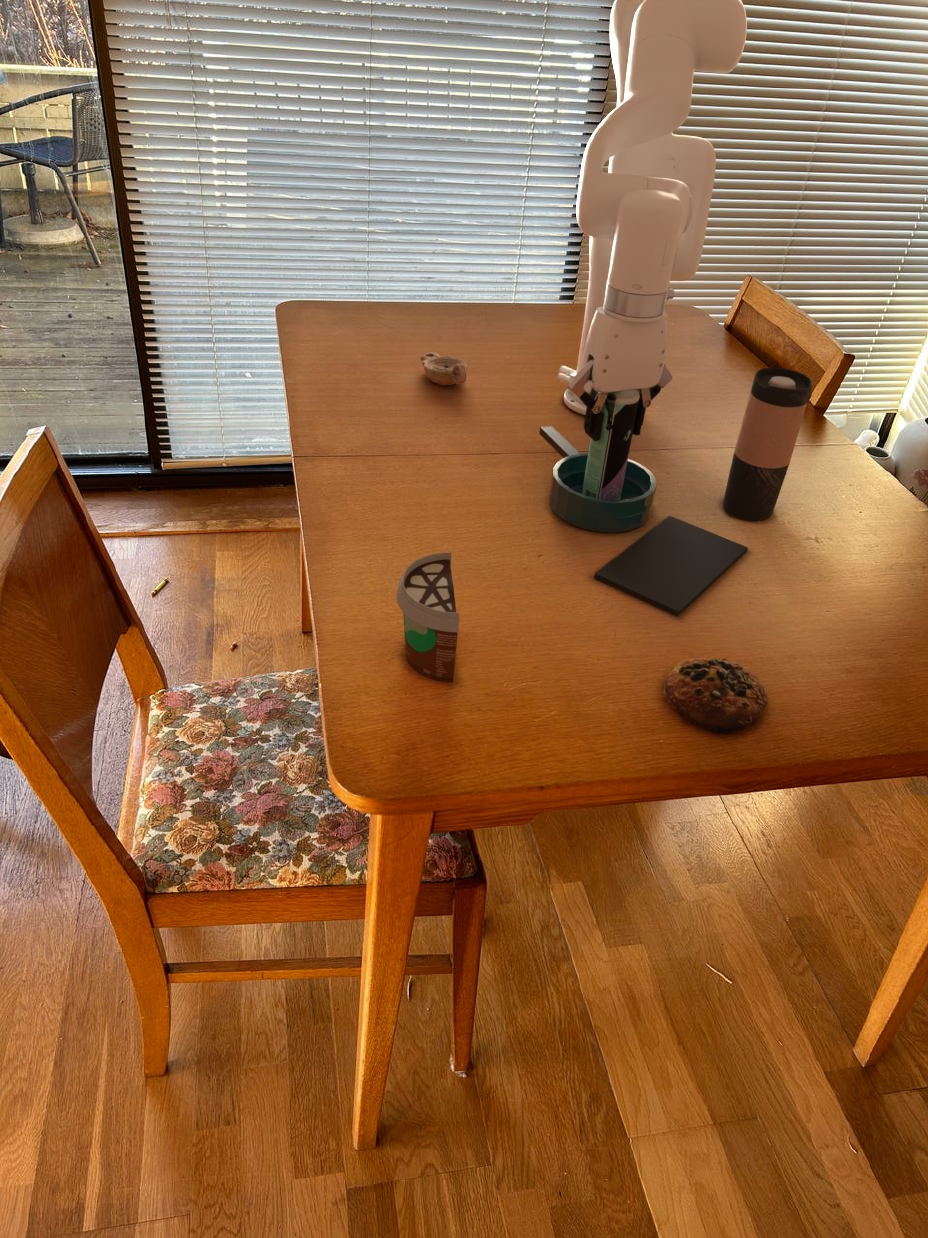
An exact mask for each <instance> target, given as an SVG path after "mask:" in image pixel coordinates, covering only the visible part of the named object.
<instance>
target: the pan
mask: <svg viewBox="0 0 928 1238" xmlns="http://www.w3.org/2000/svg"><path fill="white" fill-rule="evenodd" d="M587 458H588V452H583V453H580V454H575V455H572V456H568V457H565V458H561V459H560V460H559V461H557V462H556V464H555V465H554V467H553V468H552V474H551V481H550V489H549V497H548V499H549V500H548V501H549V507H550V508H551V509H552V511H553V512H554V513H555V515H557V516H558V517H559V518H561V519H562V520H563V521H565V522H566V523H569V524H571V525H573V526H575V527H578V528H581V529H584V530H588V531H593V532H600V533H619V532H626V531H631V530H633V529H636V528H639V527H641V526H643V524H645V523H647V522H648V521H649V519H650V516H651V515H652V510H653V505H654V501H655V496H656V491H657V487H658V483H657V480H656V479H657V478H656V476H655V475H654V474H653V472H652V471H651V470H650V469H649V468H647V467H646V466H644V465H642V464H640V463H639V462H637V461H635V460H633V459H630V458H628V461H627V467H626V472H625V477H624V483H623V488H622V493H621V498H620V500H605V499H598V498H594V497H589V496H586V495H583V494H582V490H583V484H584V477H585V471H586V465H587Z"/></svg>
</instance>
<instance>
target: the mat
mask: <svg viewBox="0 0 928 1238" xmlns="http://www.w3.org/2000/svg"><path fill="white" fill-rule="evenodd" d="M748 550H749V547H748V546H746V545H743V544H742V543H738V542H736V541H733V540H731V539H729V538H726V537H724V536H721V535H718V534H716V533H714V532H711V531H710V530H706V529H704V528H701V527H699V526H697V525H695V524H692V523H690V522H687V521H685V520H682V519H679V518H677V517H676V516H672V515H668V516H667V517H666V518H665V519H663V520H661V522H659V523H658V524H656V525H655V526H654V527H653V528H651V529H650V530H649V531H648V532H646V533H645V534H644V535H642V536H641V537H640V538H639V539H637V540H636V541H635V542H633V543H632V544H631V545H629V546H628V547H626V548H625V549H624V550H623V551H621V552H620V553H619V554H618V555H617V556H615V557H613V559H611V560H610V561H609V562H607V563H606V564H604V565H603V566H602V567H601V568H600V569H598V570H597V571H596V572H595V573H594V577H593V579H595V580H596V581H598V582H601V583H603V584H605V585H607V586H610V587H612V588H614V589H617V590H618V591H621V592H623V593H624V594H627V595H629V596H631V597H634V598H636V599H638V600H640V601H642V602H644V603H646V604H649V605H651V606H654V607H656V608H658V609H660V610H662V611H664V612H666V613H669V614H671V615H673V616H675V617H676V618H678V617H679V616H680V615H682V613H684V612H685V611H686V610H687V609H688V608H689V607H690V606H691V605H692V604H693V603H695V601H696V600H698V599H699V598H700V597H701V596H702V595H703V594H704V593H705V592H707V590H708V589H709V588H711V586H712V585H713V584H715V583H716V582H717V581H718V580H719V579H721V577H723V575H724V574H725V573H727V571H728V570H730V569H731V568H732V567H733V566H734V565H735V564H736V563H737V562H738V561H739V560H740V559H742V558H743V556H744V555H746V554H747V553H748Z"/></svg>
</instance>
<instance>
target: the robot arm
mask: <svg viewBox="0 0 928 1238" xmlns="http://www.w3.org/2000/svg"><path fill="white" fill-rule="evenodd" d="M747 19H748V18H747V12H746V7H745V6H744V2H743V1H742V0H614V2H613V4H612V8H611V11H610V19H609V45H610V52H611V60H612V61H611V62H612V66H613V71H614V75H615V81H616V93H617V96H616V97H617V99H616V107H615V108H614V109H613V110H611V111H610V112H609V113H608V114H607V115H606V117H604V118H603V120H602V121H601V122H600V123H599V124H598V126H597V127H596V129H595V130H594V131H593V133H592V134H591V136H590V138H589V140H588V142H587V144H586V147H585V149H584V152H583V157H582V159H581V167H580V175H579V182H578V189H577V197H576V212H575V213H576V215H575V216H576V221H577V225H578V228H579V229H580V230H581V231H582V233H583V234H585V235H586V236H589V242H588V243H589V249H588V250H589V251H588V252H589V258H588V259H589V267H588V273H589V274H588V286H587V292H586V293H587V294H586V303H585V310H584V317H583V324H582V331H581V337H580V345H579V352H578V359H577V364H576V365H577V367H576V370H575V369H573V368H570V367H568V366H565V365H560V367H559V369H558V374H557V377H556V380H557V382H560V383H563V384H566V385H567V388H568V389H566V390H565V392H564V395H563V402H564V404H565V405H566V406H567V407H568V408H569V409H570V410H572V411H573V412H575V413H578V414H580V415H583V416H585V417H584V421H583V430H584V433H585V434H586V435H587V436H588V437H589V438H590V439H591V438H592V439H593V440H594V441H598V440H599V439H600V436H601V430H602V424H603V418H604V414H603V413H602V412H601V409H602V407H603V405H604V402H605V400H606V398H607V396H608V394H609V392H618V391H624V390H636V389H640V393H639V394H640V397H639V403H638V408H637V413H636V419H635V424H634V429H633V435H632V436H635V437H638V436H640V435H641V431H642V426H643V424H644V420H645V415H646V409H648V408H649V407H650V406H651V405H652V401H653V400H654V399H655V398H656V397H657V396H658V395H659V394H660V393H661V390H662V389H664V388H665V387H666V386H667V385H668V384H669V383H671V382H672V380H673V375H672V373H671V371H669V369H668V367H667V366H666V364H665V361H666V354H667V344H668V329H669V328H668V327H669V326H668V321H669V320H668V313H667V311H666V310H665V309H666V307H667V301H669V300H673V299H674V298H675V289H674V288H673V287H671V288H670V282H685V281H688V280H690V279H692V278H693V277H694V275H695V274H696V273H697V272H698V268H699V266H700V263H701V259H702V254H703V249H704V244H705V238H706V233H707V227H708V220H709V214H710V208H711V202H712V196H713V190H714V185H715V177H716V170H717V157H716V150H715V148H714V145H713V144H712V143H711V141H709V140H708V139H706V138H704V137H701V136H693V135H683V134H674V133H673V132H674V131H676V130H677V129H679V128H680V127H681V126H682V125H683V124H684V123H685V121H686V120H687V119H688V117H689V114H690V112H691V107H692V98H693V97H692V96H693V84H694V76H695V75H694V73H695V72H696V73H697V72H698V73H710V74H721V75H723V74H724V75H725V74H729V73H731V72H733V70H735V69H736V67H737V66H738V64H739V62H740V60H741V59H742V55H743V53H744V48H745V45H746V41H747V40H746V39H747V32H748V31H747V29H748V21H747ZM608 161H609V163H608V172H604V171H603V168H604V165H605V164H606V162H608Z"/></svg>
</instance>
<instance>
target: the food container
mask: <svg viewBox="0 0 928 1238" xmlns="http://www.w3.org/2000/svg"><path fill="white" fill-rule="evenodd" d="M454 588H455V587H454V581H453V574H452V552H438V553H437V552H436V553H432V554H428V555H426V556H423V557H419V558H418V559H416V560H415V561H413V562H412V563H411V564H410V565H408V566H407V567H406V569H405V570H404V572H403V574H402V575H401V577H400V579H399V583H398V586H397V590H396V597H395V598H396V603H397V605H398V608H399V609H400V610H401V611H402V612H403V613H402V615H403V629H404V630H403V632H404V633H403V634H404V649H405V651H404V652H405V660H406V662H407V664H408V665H409V667H410V668H411V669H412V670H413V671H415V672H416V673H417V674H419V675H420V676H423V677H424V678H427V679H430V680H432V681H437V682H443V683H454V677H455V667H456V656H457V647H458V644H457V643H458V636H459V635H458V634H459V633H460V632H459V631H460V612H457V606H456V605H457V604H456V600H455V599H456V597H455V589H454Z"/></svg>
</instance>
